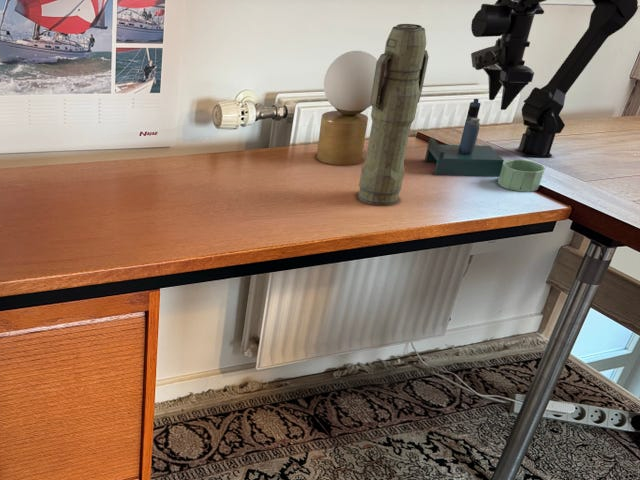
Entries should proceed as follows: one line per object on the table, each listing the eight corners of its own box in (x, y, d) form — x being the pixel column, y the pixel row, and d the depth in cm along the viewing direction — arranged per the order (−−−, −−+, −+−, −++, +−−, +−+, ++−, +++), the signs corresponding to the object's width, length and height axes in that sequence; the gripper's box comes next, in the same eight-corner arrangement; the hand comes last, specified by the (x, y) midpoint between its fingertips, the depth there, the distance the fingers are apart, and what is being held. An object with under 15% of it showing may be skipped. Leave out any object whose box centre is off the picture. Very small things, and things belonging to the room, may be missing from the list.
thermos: (343, 197, 155) (370, 25, 135) (381, 187, 160) (412, 20, 140) (373, 210, 149) (405, 32, 129) (411, 199, 154) (447, 26, 134)
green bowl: (530, 178, 165) (536, 160, 162) (544, 192, 157) (550, 172, 155) (493, 178, 165) (498, 159, 163) (505, 191, 158) (510, 171, 155)
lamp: (328, 144, 187) (342, 43, 173) (379, 153, 180) (397, 49, 166) (303, 158, 177) (315, 53, 163) (356, 169, 170) (373, 60, 156)
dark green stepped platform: (485, 161, 175) (491, 139, 172) (499, 176, 166) (505, 153, 163) (424, 160, 176) (429, 138, 173) (435, 174, 167) (440, 152, 164)
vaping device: (468, 148, 171) (480, 98, 164) (473, 155, 166) (487, 103, 160) (457, 148, 171) (469, 97, 164) (462, 155, 167) (475, 103, 160)
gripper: (468, 28, 170) (453, 94, 179) (492, 42, 155) (474, 114, 163) (515, 28, 169) (497, 95, 178) (543, 43, 154) (523, 115, 163)
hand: (497, 104), depth 171 cm, fingers open, 9 cm apart
